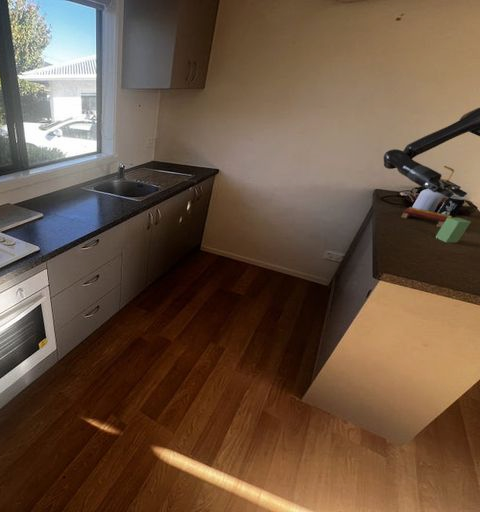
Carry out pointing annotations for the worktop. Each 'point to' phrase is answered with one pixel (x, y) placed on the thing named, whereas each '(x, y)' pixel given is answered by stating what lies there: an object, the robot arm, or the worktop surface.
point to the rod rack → (426, 215)
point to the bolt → (467, 209)
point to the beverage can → (451, 206)
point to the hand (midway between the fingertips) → (458, 195)
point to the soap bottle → (429, 198)
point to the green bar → (452, 229)
